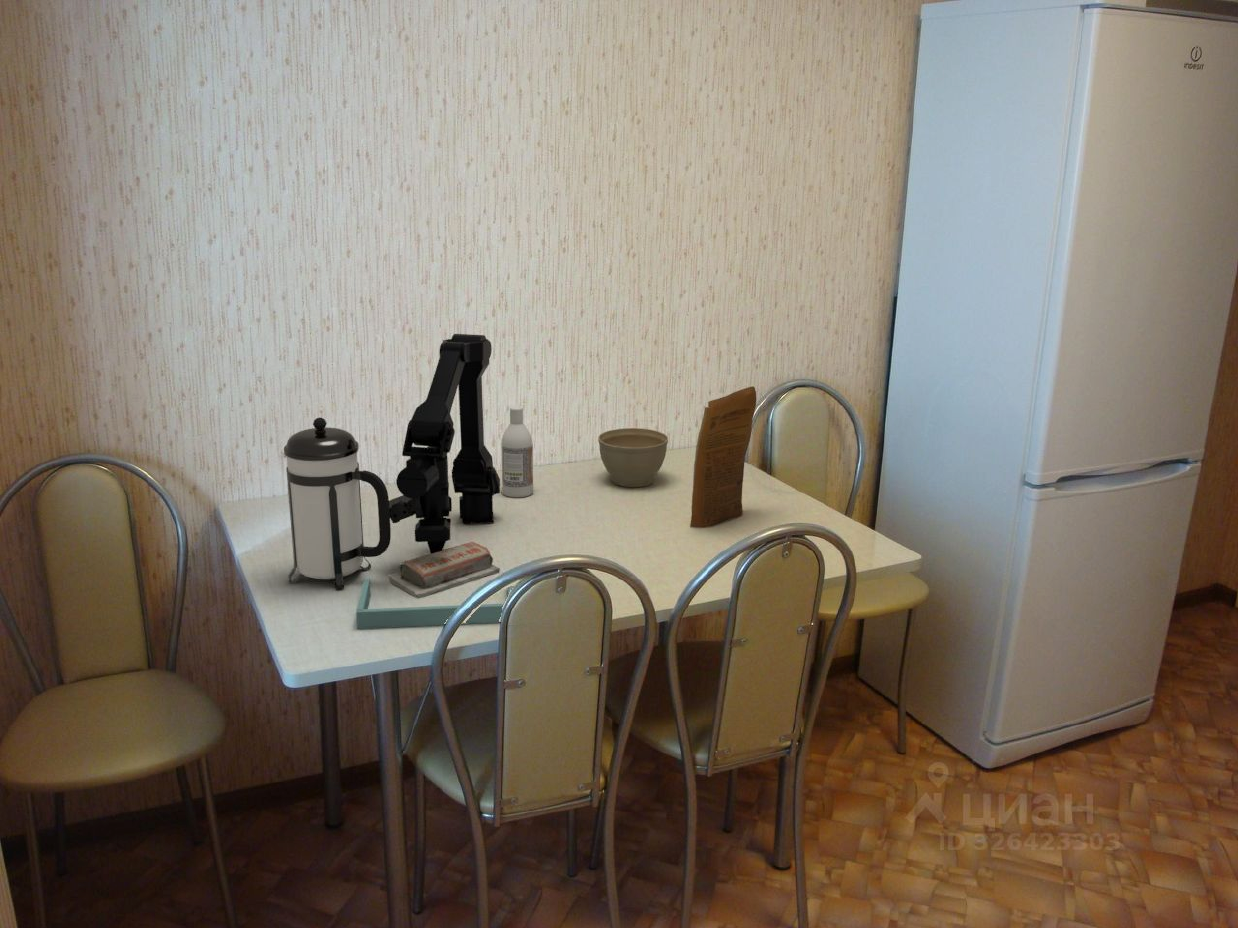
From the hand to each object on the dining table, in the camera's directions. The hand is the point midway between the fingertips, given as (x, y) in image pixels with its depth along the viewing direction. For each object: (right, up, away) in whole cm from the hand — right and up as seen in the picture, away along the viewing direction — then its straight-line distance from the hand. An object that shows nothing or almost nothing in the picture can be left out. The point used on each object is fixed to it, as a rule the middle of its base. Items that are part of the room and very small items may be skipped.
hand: (435, 559), depth 205 cm
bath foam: (+12, +11, +41) cm, 44 cm away
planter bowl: (+38, +14, +50) cm, 64 cm away
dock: (+3, -7, -18) cm, 19 cm away
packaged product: (+3, -3, -5) cm, 6 cm away
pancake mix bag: (+56, +6, +26) cm, 62 cm away
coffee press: (-17, -3, -5) cm, 18 cm away
